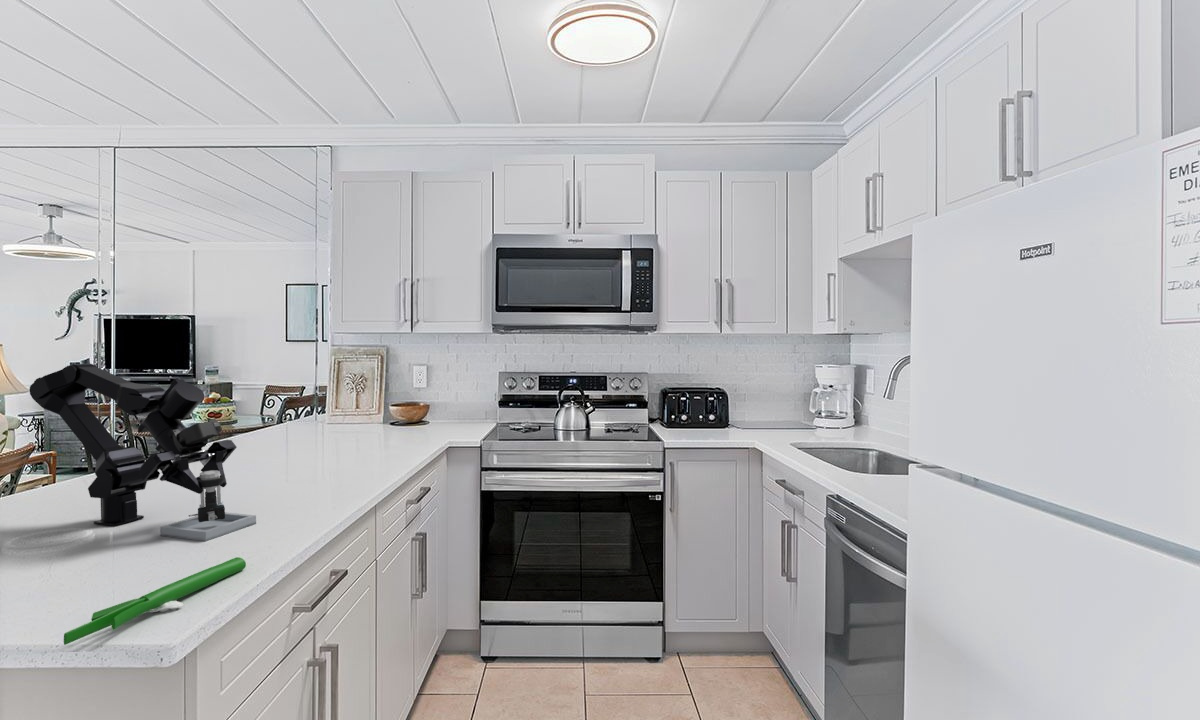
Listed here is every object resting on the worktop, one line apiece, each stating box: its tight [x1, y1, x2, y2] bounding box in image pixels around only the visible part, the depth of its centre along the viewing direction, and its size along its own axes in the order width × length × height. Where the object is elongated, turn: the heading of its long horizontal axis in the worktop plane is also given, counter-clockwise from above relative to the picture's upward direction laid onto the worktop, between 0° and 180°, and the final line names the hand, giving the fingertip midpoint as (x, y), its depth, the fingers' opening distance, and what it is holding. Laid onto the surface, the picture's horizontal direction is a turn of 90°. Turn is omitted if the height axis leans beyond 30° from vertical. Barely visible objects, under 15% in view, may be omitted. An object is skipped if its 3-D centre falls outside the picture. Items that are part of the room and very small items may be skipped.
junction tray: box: [159, 511, 257, 542], centre depth 127 cm, size 12×12×2 cm
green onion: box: [63, 556, 247, 646], centre depth 90 cm, size 5×3×30 cm
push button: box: [188, 470, 226, 522], centre depth 127 cm, size 7×5×10 cm
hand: (213, 489), depth 127 cm, fingers closed on push button, 5 cm apart
